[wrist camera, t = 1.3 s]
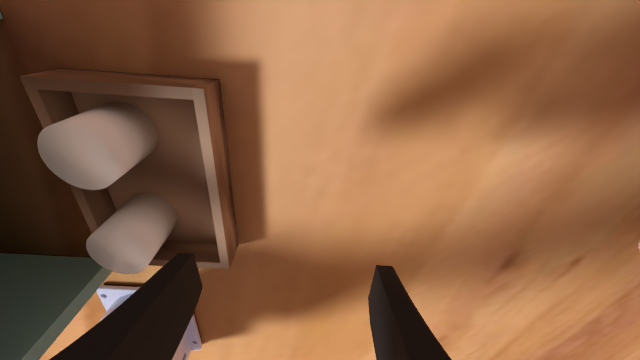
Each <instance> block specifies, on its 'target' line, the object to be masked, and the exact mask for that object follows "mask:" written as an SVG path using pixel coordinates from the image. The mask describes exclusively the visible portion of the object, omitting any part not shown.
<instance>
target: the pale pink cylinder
mask: <svg viewBox="0 0 640 360" xmlns="http://www.w3.org/2000/svg"><path fill="white" fill-rule="evenodd" d="M157 144H158V133H157V129H156V127H155V125H154V123H153V121H152V120H151V119H150V118H149V116H148V115H147V114H146V113H145V112H143V111H142V110H141V109H139V108H138V107H136V106H134V105H132V104H129V103H126V102H121V101H113V102H109V103H106V104H103V105H101V106H98V107H96V108H93V109H90V110H88V111H85V112H83V113H80V114H78V115H75V116H73V117H70V118H67V119H65V120H62V121H60V122H57V123H55V124H52V125H50V126H47V127H46V128H44V129H43V130H42V131H41V132H40V134H39V136H38V140H37V146H38V151H39V154H40V156H41V158H42V160H43V162H44V163H45V164H46V166H47V167H48V168H49V169H50V170H51V171H52V172H53V173H54V174H55V175H56V176H58V177H59V178H61V179H62V180H64V181H65V182H67V183H69V184H71V185H73V186H76V187H79V188H82V189H88V190H99V189H104V188H106V187H108V186H110V185H111V184H112V183H114V182H115V181H116V180H117V179H119V178H120V177H121V176H123V175H124V174H125V173H126V172H128V171H129V170H130V169H131V168H133V167H134V166H135V165H137V164H138V163H139V162H140V161H142V160H143V159H144V158H145V157H147V156H148V155H149V154H151V153H152V152H153V151H154V150H155V148H156V146H157Z"/></svg>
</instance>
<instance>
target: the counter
mask: <svg viewBox="0 0 640 360" xmlns="http://www.w3.org/2000/svg"><path fill="white" fill-rule="evenodd" d="M0 19H3V17H2V14H1V12H0ZM111 272H112V271H111V270H108V269H106V268H104V267H102V266H101V265H99V264H98V263H97V262H95V261H94V260H93V259H92V258H88V257H68V256H47V255H27V254H7V253H0V360H39V359H40V358H41V357H42V355H43V354H44V353H45V352H46V351H47V349H48V348H49V347H50V346H51V345H52V343H53V342H54V341H55V340H56V338H57V337H58V336H59V335H60V334H61V332H62V331H63V330H64V329H65V328H66V326H67V325H68V324H69V323H70V322H71V320H72V319H73V318H74V317H75V316H76V314H77V313H78V312H79V311H80V310H81V308H82V307H83V306H84V305H85V304H86V302H87V301H88V300H89V299H90V298H91V296H92V295H93V294H94V293H95V291H96V290H97V289H98V288H99V287H100V285H101V284H102V283H103V282H104V281H105V279H106V278H107V277H108V276H109V275H110V273H111Z"/></svg>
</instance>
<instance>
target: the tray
mask: <svg viewBox="0 0 640 360" xmlns="http://www.w3.org/2000/svg"><path fill="white" fill-rule="evenodd" d="M19 77H20V79H21V81H22V84H23V86H24V88H25V90H26V92H27V94H28V97H29V99H30V101H31V103H32V105H33V107H34V109H35V112H36V114H37V116H38V118H39V120H40V122H41V125H42V127H43V129H44V128H46V127H47V126H50V125H52V124H55V123H57V122H60V121H62V120H65V119H67V118H70V117H73V116H75V115H78V114H80V113H83V112H85V111H88V110H90V109H93V108H96V107H98V106H101V105H103V104H106V103H109V102H113V101H121V102H126V103H129V104H132V105H134V106H136V107H138V108H139V109H141V110H142V111H143V112H145V113H146V114H147V115H148V116H149V118H150V119H151V120H152V121H153V123H154V125H155V127H156V129H157V133H158V144H157V146H156V148H155V150H154V151H153V152H152V153H151V154H149V155H148V156H147V157H145V158H144V159H143V160H142V161H140V162H139V163H138V164H137V165H135V166H134V167H133V168H131V169H130V170H129V171H128V172H126V173H125V174H124V175H123V176H121V177H120V178H119V179H117V180H116V181H115V182H114V183H112V184H111V185H110V186H108V187H106V188H104V189H99V190H88V189H82V188H79V187H76V186H73V185H71V184H69V185H70V187H71V190H72V192H73V194H74V196H75V198H76V200H77V203H78V205H79V207H80V209H81V211H82V213H83V215H84V218H85V220H86V222H87V224H88V226H89V228H90V231H91V233H92V234H93V233H94V232H95V231H96V230H97V229H98V228H99V227H100V226H101V225H102V224H103V223H104V222H105V221H106V220H107V219H109V218H110V217H111V216H112V215H113V214H114V213H115V212H116V211H117V210H118V209H119V208H120V207H121V206H122V205H124V204H125V203H126V202H127V201H128V200H129V199H130V198H131V197H132V196H134V195H136V194H140V193H151V194H155V195H158V196H160V197H162V198H164V199H166V200H167V201H168V202H169V203H171V204H172V206H173V207H174V208H175V210H176V212H177V214H178V222H177V225H176V226H175V228H174V229H173V230H172V232H171V233H170V235H169V236H168V238H167V239H166V240H165V242H164V243H163V245H162V246H161V247H160V249H159V250H158V252H157V253H156V254H155V256H154V257H153V259H152V260H151V262H150V263H149V264H148V265H156V266H164V265H165V264H166V263H167V262H168V261H169V260H171V259H172V258H173V257H174V256H175V255H176V254H177V253H193V254H194V256H195V260H196V264H197V267H198V268H217V269H230V266H231V264H232V261H233V258H234V255H235V253H236V250H237V247H238V239H237V230H236V221H235V212H234V203H233V194H232V186H231V177H230V168H229V159H228V150H227V141H226V133H225V124H224V115H223V106H222V97H221V89H220V80H219V79H207V78H193V77H178V76H164V75H150V74H135V73H121V72H106V71H92V70H77V69H63V68H60V69H54V70H49V71H44V72H38V73H33V74H28V75H23V76H19Z"/></svg>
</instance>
